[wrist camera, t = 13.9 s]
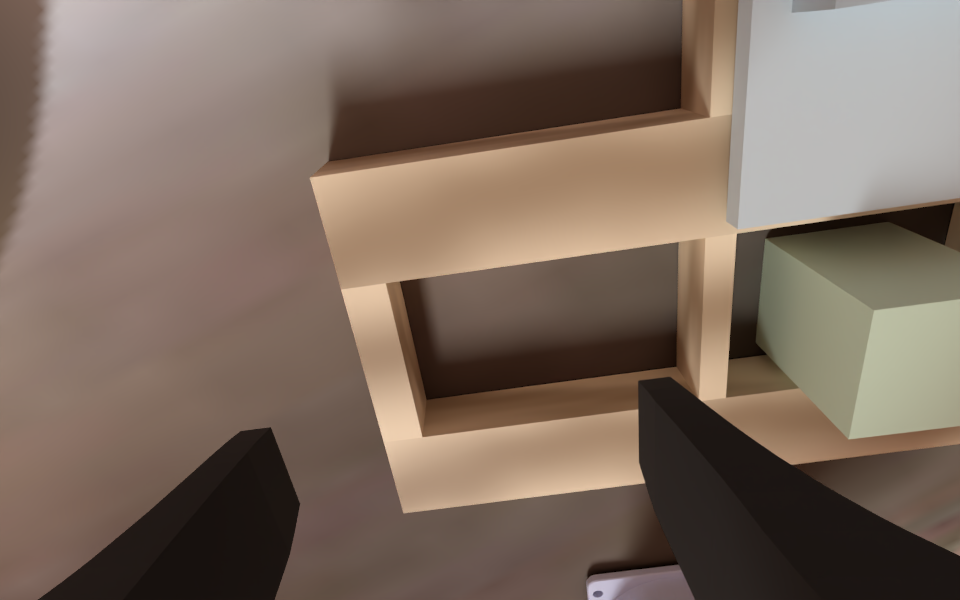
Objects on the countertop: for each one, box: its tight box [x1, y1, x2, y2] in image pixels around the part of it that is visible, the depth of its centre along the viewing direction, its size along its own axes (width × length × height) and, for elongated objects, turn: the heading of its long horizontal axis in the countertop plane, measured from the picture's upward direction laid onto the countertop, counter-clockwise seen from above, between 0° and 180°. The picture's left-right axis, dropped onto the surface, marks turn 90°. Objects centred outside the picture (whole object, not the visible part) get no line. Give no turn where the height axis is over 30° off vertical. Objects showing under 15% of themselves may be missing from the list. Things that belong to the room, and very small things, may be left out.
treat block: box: [755, 222, 960, 439], centre depth 18 cm, size 4×4×6 cm
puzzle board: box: [310, 0, 960, 513], centre depth 19 cm, size 18×24×2 cm
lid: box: [726, 0, 960, 229], centre depth 14 cm, size 8×10×3 cm
